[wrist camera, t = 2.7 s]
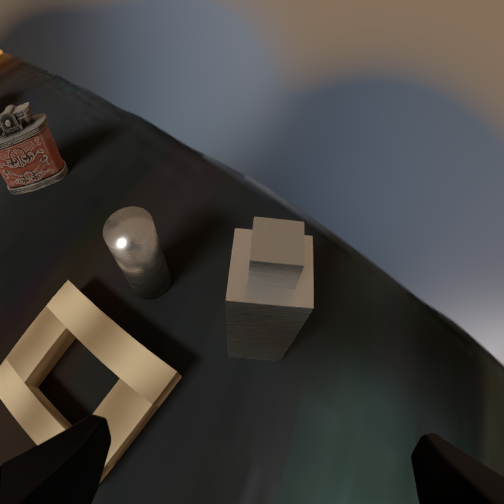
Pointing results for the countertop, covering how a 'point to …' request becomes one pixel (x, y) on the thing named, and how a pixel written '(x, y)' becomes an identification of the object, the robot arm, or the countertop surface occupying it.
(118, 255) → the round peg
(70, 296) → the socket block
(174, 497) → the countertop surface
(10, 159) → the lighter
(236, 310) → the square bit
